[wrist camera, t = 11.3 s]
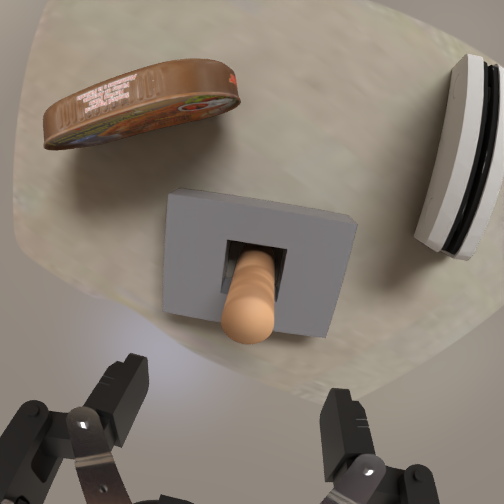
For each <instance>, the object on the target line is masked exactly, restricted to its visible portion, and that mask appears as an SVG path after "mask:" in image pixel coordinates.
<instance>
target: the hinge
mask: <svg viewBox="0 0 504 504" xmlns="http://www.w3.org/2000/svg"><path fill="white" fill-rule="evenodd" d="M503 176H504V68H502V67H501V66H499V65H498V64H495V65H494V66H493V65H490V66H487V63H486V62H484V61H483V58H482V57H480V56H475V55H470V54H466V55H465V56H464V57H463V58H462V59H461V60H460V61H459V62H458V63H457V64H456V65H455V66H454V67H453V68H452V75H451V82H450V89H449V96H448V102H447V108H446V113H445V119H444V124H443V129H442V134H441V139H440V143H439V148H438V152H437V156H436V160H435V165H434V169H433V172H432V176H431V180H430V184H429V187H428V191H427V195H426V198H425V201H424V205H423V208H422V211H421V215H420V218H419V221H418V224H417V227H416V230H415V233H414V236H413V237H414V238H416V239H417V240H419V241H420V242H422V243H423V244H425V245H426V246H428V247H430V248H431V249H433V250H434V251H436V252H439V251H441V252H443V253H445V254H446V255H448V256H450V257H452V258H454V259H460V260H465V261H468V260H469V259H470V258H471V257H472V256H473V254H474V252H475V250H476V248H477V246H478V244H479V242H480V240H481V238H482V236H483V233H484V231H485V229H486V227H487V224H488V222H489V219H490V217H491V214H492V211H493V209H494V206H495V203H496V200H497V197H498V194H499V191H500V187H501V184H502V180H503Z"/></svg>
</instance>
